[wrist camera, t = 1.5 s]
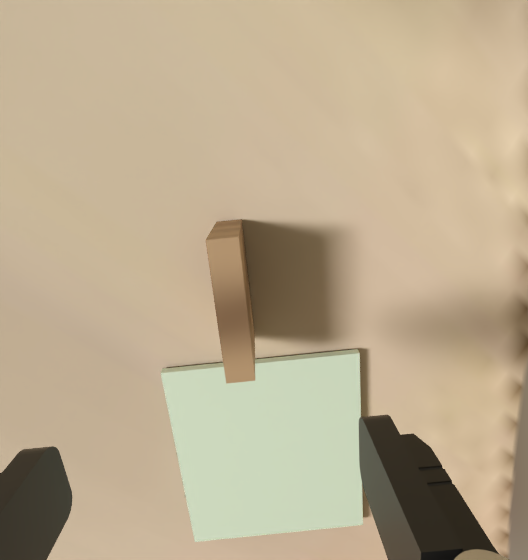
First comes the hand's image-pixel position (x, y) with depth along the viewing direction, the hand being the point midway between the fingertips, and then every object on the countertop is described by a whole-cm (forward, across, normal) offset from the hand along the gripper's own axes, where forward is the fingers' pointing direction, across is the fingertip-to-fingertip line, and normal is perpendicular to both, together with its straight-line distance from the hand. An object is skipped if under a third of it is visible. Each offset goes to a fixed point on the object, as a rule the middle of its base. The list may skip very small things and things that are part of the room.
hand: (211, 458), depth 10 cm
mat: (+16, -1, +14) cm, 21 cm away
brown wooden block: (+16, 0, 0) cm, 16 cm away
